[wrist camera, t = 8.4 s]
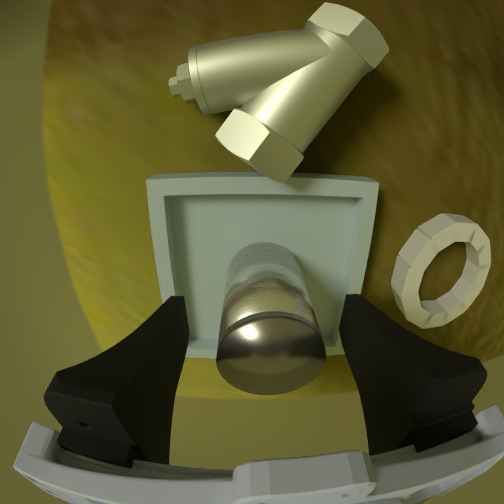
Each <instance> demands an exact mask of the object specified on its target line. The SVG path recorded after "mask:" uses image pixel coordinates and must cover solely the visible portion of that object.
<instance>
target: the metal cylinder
mask: <svg viewBox="0 0 504 504" xmlns="http://www.w3.org/2000/svg"><path fill="white" fill-rule="evenodd" d="M325 359H326V349H325V345H324V342H323V339H322V335H321V332H320V329H319V325H318V322H317V319H316V316H315V313H314V309H313V306H312V303H311V300H310V297H309V294H308V291H307V288H306V284H305V281H304V278H303V275H302V272H301V269H300V266H299V263H298V261H297V259H296V257H295V256H294V255H293V254H292V253H291V252H290V251H289V250H288V249H287V248H285V247H283V246H281V245H279V244H276V243H271V242H259V243H254V244H251V245H248V246H246V247H244V248H243V249H241V250H240V251H239V252H237V253H236V254H235V256H234V257H233V258H232V260H231V261H230V264H229V266H228V271H227V278H226V285H225V293H224V300H223V308H222V316H221V323H220V331H219V339H218V347H217V355H216V364H217V368H218V370H219V372H220V374H221V376H222V377H223V378H224V379H225V380H226V381H227V382H228V383H229V384H231V385H232V386H234V387H235V388H237V389H240V390H242V391H245V392H248V393H252V394H258V395H276V394H283V393H287V392H290V391H293V390H296V389H298V388H300V387H302V386H304V385H306V384H307V383H309V382H310V381H311V380H313V379H314V378H315V377H316V376H317V375H318V373H319V372H320V371H321V369H322V368H323V365H324V363H325Z"/></svg>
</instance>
